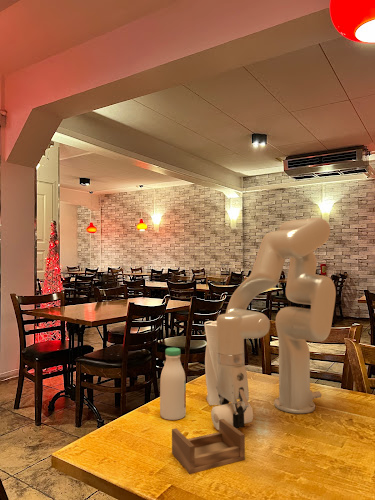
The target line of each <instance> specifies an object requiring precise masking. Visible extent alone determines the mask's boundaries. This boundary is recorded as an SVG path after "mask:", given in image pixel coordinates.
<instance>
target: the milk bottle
mask: <svg viewBox="0 0 375 500" xmlns="http://www.w3.org/2000/svg"><path fill="white" fill-rule="evenodd" d="M164 353H165V362H164V366H163V367H162V370H161V374H160V379H159V380H160V381H159V382H160V383H159V387H160V388H159V389H160V390H159V392H160V393H159V394H160V395H159V398H160V399H159V407H160V408H159V409H160V411H159V412H160V413H159V414H160V417H161V418H162V419H164V420H168V421H175V420H176V421H177V420H182V419H183V418H184V417H186V415H187V412H186V411H187V400H186V398H187V396H186V395H187V393H186V391H187V390H186V388H187V387H186V385H187V384H186V373H185V370H184V368H183V365H182V362H181V348H178V347H167V348H165V351H164Z"/></svg>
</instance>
